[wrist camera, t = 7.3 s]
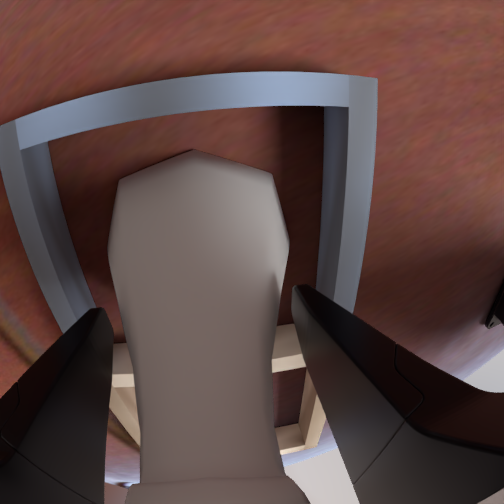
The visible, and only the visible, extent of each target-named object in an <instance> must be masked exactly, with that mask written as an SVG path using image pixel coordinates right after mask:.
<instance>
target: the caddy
mask: <svg viewBox="0 0 504 504" xmlns="http://www.w3.org/2000/svg"><path fill="white" fill-rule="evenodd" d="M377 87H378V78H371V77H363V76H354V75H343V74H331V73H314V72H240V73H223V74H211V75H200V76H191V77H182V78H175V79H168V80H161V81H155V82H149V83H143V84H138V85H133V86H128V87H123V88H118V89H113V90H109V91H105V92H101V93H97V94H93V95H89V96H85V97H81V98H78V99H74V100H71V101H67V102H64V103H61V104H58V105H55V106H51V107H48V108H45V109H42V110H40V111H37V112H34V113H31V114H28V115H26V116H23V117H20V118H18V119H15V120H13V121H10V122H8V123H5V124H3V125H1V126H0V169H1V173H2V177H3V181H4V185H5V189H6V193H7V197H8V200H9V204H10V207H11V210H12V214H13V217H14V220H15V223H16V226H17V229H18V232H19V235H20V238H21V241H22V243H23V246H24V249H25V252H26V254H27V257H28V259H29V262H30V264H31V267H32V269H33V272H34V274H35V276H36V279H37V281H38V283H39V286H40V288H41V290H42V292H43V294H44V297H45V299H46V301H47V303H48V305H49V307H50V309H51V311H52V313H53V315H54V317H55V319H56V321H57V323H58V325H59V327H60V329H61V331H62V333H63V334H64V333H65V332H66V331H67V330H68V329H69V328H70V327H71V326H72V325H73V324H74V323H75V322H76V321H77V320H78V319H79V318H80V317H81V316H83V315H84V314H85V313H86V312H87V311H88V310H89V309H90V308H96V305H95V303H94V300H93V298H92V295H91V293H90V290H89V288H88V285H87V283H86V280H85V277H84V275H83V272H82V269H81V266H80V263H79V261H78V258H77V255H76V252H75V249H74V246H73V243H72V239H71V236H70V233H69V230H68V226H67V223H66V219H65V216H64V212H63V209H62V205H61V201H60V197H59V193H58V189H57V185H56V181H55V177H54V172H53V167H52V163H51V158H50V153H49V147H48V142H47V141H50V140H54V139H57V138H61V137H64V136H68V135H72V134H75V133H79V132H83V131H87V130H92V129H96V128H100V127H105V126H109V125H114V124H119V123H124V122H129V121H134V120H140V119H146V118H152V117H158V116H164V115H171V114H179V113H187V112H195V111H204V110H214V109H226V108H240V107H258V106H324V158H323V189H322V210H321V227H320V243H319V256H318V269H317V281H316V290H317V291H319V292H320V293H322V294H324V295H325V296H327V297H328V298H330V299H331V300H333V301H334V302H336V303H337V304H339V305H340V306H342V307H343V308H345V309H346V310H348V311H349V312H351V313H352V314H353V311H354V306H355V301H356V295H357V290H358V285H359V279H360V274H361V268H362V262H363V255H364V249H365V242H366V235H367V228H368V220H369V212H370V204H371V195H372V185H373V174H374V161H375V147H376V128H377ZM301 367H306V365H305V362H304V359H303V355H302V352H301V348H300V344H299V340H298V336H297V332H296V328H295V325H294V324H288V325H282V326H277V327H276V334H275V341H274V348H273V355H272V373H274V372H280V371H285V370H291V369H296V368H301ZM109 407H110V409H111V410H112V412H113V413H114V414H115V416H116V417H117V418H118V420H119V421H120V422H121V424H122V425H123V426H124V427H125V429H126V430H127V431H128V433H129V434H130V435H131V436H132V438H133V439H134V440H135V441H136V442H137V444H138V445H139V446H140V428H139V420H138V413H137V405H136V396H135V386H134V375H133V366H132V362H131V358H130V354H129V350H128V346H127V343H118V344H113V373H112V387H111V395H110V404H109ZM325 419H326V415H325V413H324V410H323V408H322V405H321V403H320V400H319V398H318V395H317V393H316V390H315V388H314V385H313V383H312V380H311V378H310V375H309V373H308V370H306V377H305V384H304V391H303V397H302V404H301V410H300V416H299V422H298V423H297V424H292V425H287V426H282V427H277V428H275V432H276V436H277V441H278V445H279V449H280V454H281V455H282V454H287V453H292V452H296V451H301V450H305V449H310V448H314V447H317V444H318V441H319V438H320V435H321V432H322V429H323V426H324V422H325Z"/></svg>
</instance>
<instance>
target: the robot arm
mask: <svg viewBox="0 0 504 504" xmlns="http://www.w3.org/2000/svg"><path fill="white" fill-rule="evenodd" d="M291 311H292V317H293V321H294V325H295V328H296V332H297V336H298V340H299V344H300V348H301V352H302V355H303V359H304V362H305V365H306V368H307V370H308V373H309V375H310V378H311V380H312V383H313V385H314V388H315V390H316V393H317V395H318V398H319V400H320V403H321V405H322V408H323V410H324V413H325V415H326V418H327V420H328V423H329V426H330V428H331V431H332V433H333V436H334V438H335V441H336V443H337V446H338V448H339V451H340V454H341V456H342V459H343V461H344V464H345V466H346V469H347V471H348V474H349V476H350V479H351V481H352V484H353V487H354V490H355V492H356V495H357V497H358V500H359V503H360V504H504V393H494V392H487V391H483V390H480V389H478V388H475V387H473V386H471V385H469V384H467V383H465V382H463V381H462V380H460V379H458V378H456V377H454V376H452V375H450V374H448V373H446V372H444V371H443V370H441V369H439V368H437V367H435V366H433V365H432V364H430V363H428V362H426V361H424V360H423V359H421V358H419V357H418V356H416V355H415V354H413V353H412V352H410V351H408V350H407V349H405V348H404V347H402V346H401V345H399V344H396V342H395V341H393V340H392V339H390V338H389V337H387V336H386V335H384V334H383V333H381V332H379V331H378V330H376V329H375V328H373V327H372V326H370V325H369V324H367V323H366V322H364V321H363V320H361V319H360V318H358V317H357V316H355V315H354V314H352V313H351V312H349V311H348V310H346V309H345V308H343V307H342V306H340V305H339V304H337V303H336V302H334V301H333V300H331V299H330V298H328V297H327V296H325V295H324V294H322V293H320V292H319V291H317V290H316V289H314V288H313V287H311V286H310V285H308V284H301V285H295V286H294V287H293V288H292V305H291ZM501 323H502V324H503V326H504V284H503V286H502V288H501V291H500V293H499V295H498V298H497V300H496V302H495V304H494V306H493V309H492V311H491V313H490V315H489V317H488V319H487V321H486V323H485V326H486V327H487V328H488V329H490V328H492V327H494V326H496V325H498V324H501ZM113 343H114V332H113V328H112V325H111V323H110V321H109V318H108V316H107V313H106V311H105V310H104V308H102V307H99V308H90V309H89V310H88V311H87V312H86V313H85V314H84V315H83V316H81V317H80V318H79V319H78V320H77V321H76V322H75V323H74V324H73V325H72V326H71V327H70V328H69V329H68V330H67V331H66V332H65V333H64V334H63V335H62V336H61V337H60V338H59V339H58V340H57V341H56V342H55V343H54V344H53V345H52V346H51V347H50V348H49V349H48V350H47V351H46V352H45V353H44V354H43V355H42V356H41V357H40V358H39V359H38V360H37V361H36V362H35V363H34V364H33V365H32V366H31V367H30V368H29V369H28V370H27V371H26V372H25V373H24V374H23V375H22V376H21V377H20V378H19V379H18V382H15V384H14V385H13V386H12V387H11V388H10V389H9V390H8V391H7V392H6V393H5V394H4V395H3V396H2V397H1V398H0V504H104V480H105V454H106V438H107V425H108V414H109V404H110V395H111V387H112V373H113Z"/></svg>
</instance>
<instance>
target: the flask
mask: <svg viewBox="0 0 504 504" xmlns="http://www.w3.org/2000/svg"><path fill="white" fill-rule="evenodd" d="M289 244H290V239H289V235H288V231H287V227H286V223H285V219H284V216H283V212H282V208H281V204H280V201H279V197H278V193H277V190H276V186H275V182H274V179H273V175H272V173H269V172H266V171H263V170H260V169H257V168H254V167H251V166H248V165H244V164H241V163H238V162H235V161H232V160H228V159H225V158H222V157H218V156H215V155H212V154H208V153H205V152H201V151H198V150H192V151H189V152H186V153H183V154H181V155H178V156H175V157H173V158H170V159H168V160H165V161H163V162H160V163H157V164H155V165H153V166H150V167H148V168H145V169H143V170H140V171H138V172H136V173H133V174H131V175H129V176H126V177H124V178H122V179H120V180H119V183H118V188H117V193H116V198H115V203H114V208H113V214H112V220H111V226H110V232H109V238H108V245H107V252H108V259H109V265H110V269H111V274H112V279H113V283H114V287H115V292H116V296H117V300H118V305H119V310H120V315H121V320H122V324H123V329H124V334H125V338H126V342H127V346H128V350H129V354H130V358H131V362H132V366H133V375H134V386H135V396H136V405H137V413H138V420H139V428H140V483H138V484H132V485H131V486H130V488H129V489H128V492H127V496H126V500H125V504H310V502H309V500H308V498H307V497H306V495H305V493H304V492H303V491H302V490H301V489H300V488H299V487H298V485H297V484H296V483H295V482H294V481H293V480H292V479H291V478H289V477H288V476H286V474H285V472H284V467H283V462H282V458H281V454H280V449H279V445H278V441H277V436H276V432H275V427H274V405H273V379H272V355H273V348H274V341H275V334H276V327H277V320H278V312H279V305H280V297H281V290H282V285H283V280H284V274H285V269H286V264H287V258H288V253H289Z"/></svg>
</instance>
